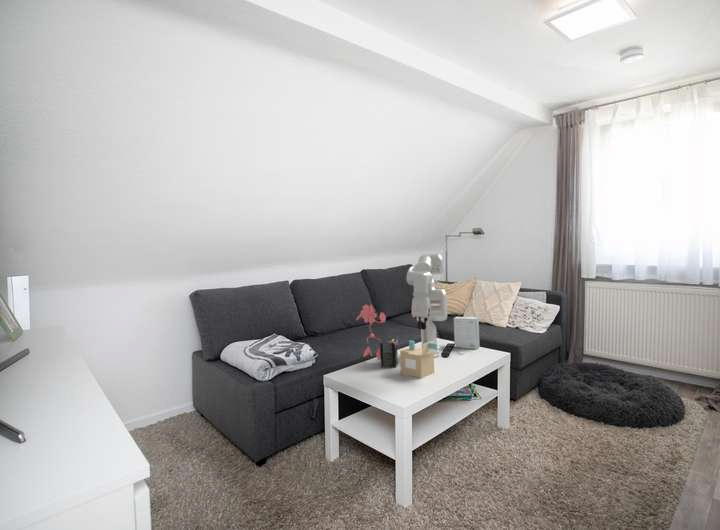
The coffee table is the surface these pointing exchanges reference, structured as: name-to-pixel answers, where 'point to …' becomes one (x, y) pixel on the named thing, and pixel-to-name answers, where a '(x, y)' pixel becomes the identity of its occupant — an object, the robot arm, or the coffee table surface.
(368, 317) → the figurine
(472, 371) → the coffee table surface
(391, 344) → the tampon box
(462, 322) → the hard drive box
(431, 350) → the flap
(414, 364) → the carton
